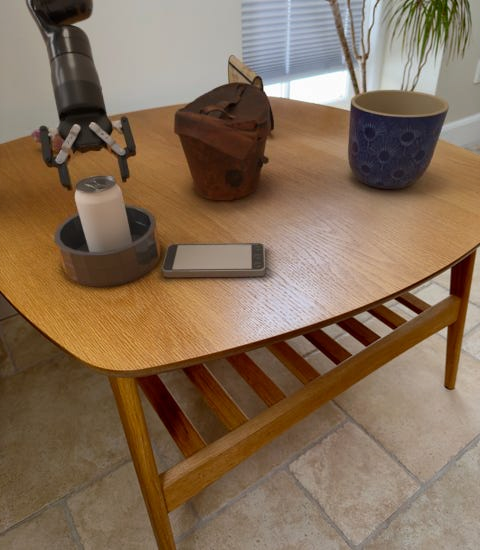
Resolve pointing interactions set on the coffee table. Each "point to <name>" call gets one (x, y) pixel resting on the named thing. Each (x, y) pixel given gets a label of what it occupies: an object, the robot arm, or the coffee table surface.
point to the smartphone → (214, 260)
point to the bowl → (112, 263)
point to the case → (225, 139)
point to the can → (102, 213)
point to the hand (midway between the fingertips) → (97, 184)
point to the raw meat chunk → (55, 146)
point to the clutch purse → (245, 78)
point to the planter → (393, 136)
